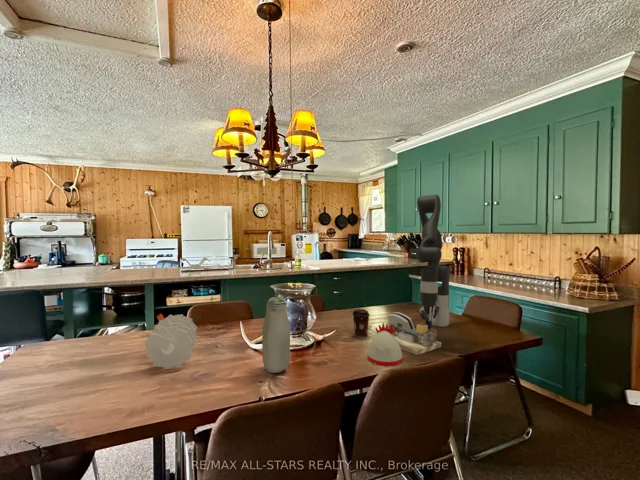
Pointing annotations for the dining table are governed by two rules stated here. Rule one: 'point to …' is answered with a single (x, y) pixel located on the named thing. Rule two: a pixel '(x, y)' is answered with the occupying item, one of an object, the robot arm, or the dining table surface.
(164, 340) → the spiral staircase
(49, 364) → the dining table surface
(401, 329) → the strap
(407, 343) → the cream board with rail
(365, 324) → the coffee cup
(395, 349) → the kitchen timer
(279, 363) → the glass bottle
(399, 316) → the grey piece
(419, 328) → the block
